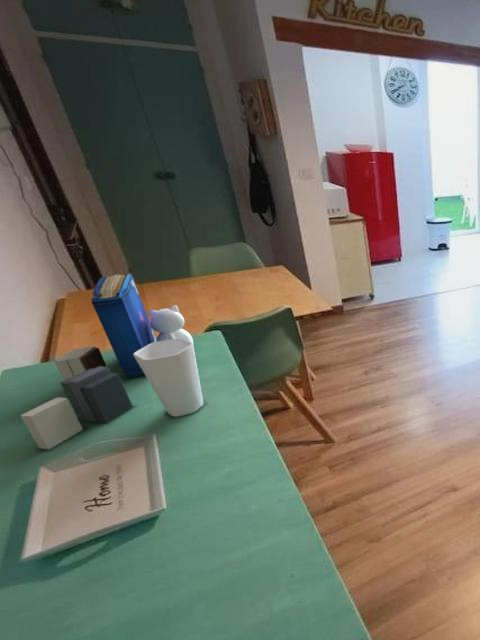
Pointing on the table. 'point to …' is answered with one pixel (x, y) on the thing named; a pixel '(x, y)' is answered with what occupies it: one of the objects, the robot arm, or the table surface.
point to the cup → (172, 374)
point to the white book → (52, 422)
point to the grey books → (97, 395)
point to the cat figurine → (169, 324)
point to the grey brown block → (79, 361)
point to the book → (123, 319)
